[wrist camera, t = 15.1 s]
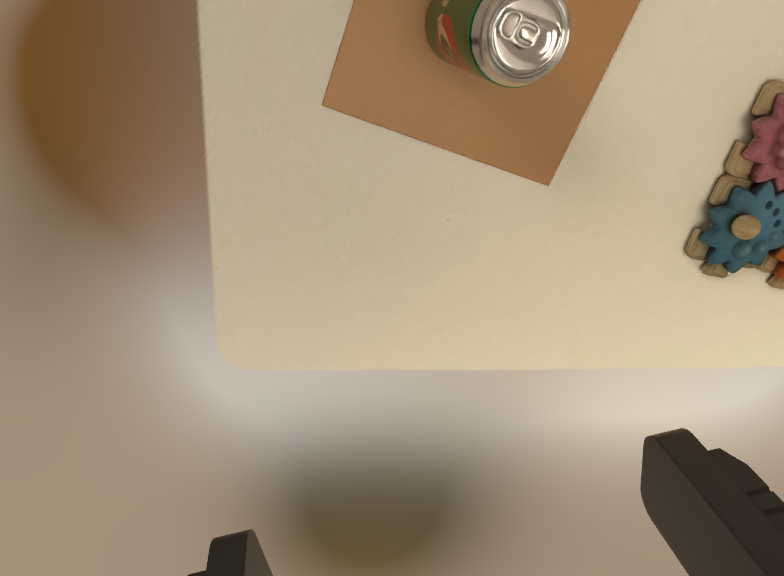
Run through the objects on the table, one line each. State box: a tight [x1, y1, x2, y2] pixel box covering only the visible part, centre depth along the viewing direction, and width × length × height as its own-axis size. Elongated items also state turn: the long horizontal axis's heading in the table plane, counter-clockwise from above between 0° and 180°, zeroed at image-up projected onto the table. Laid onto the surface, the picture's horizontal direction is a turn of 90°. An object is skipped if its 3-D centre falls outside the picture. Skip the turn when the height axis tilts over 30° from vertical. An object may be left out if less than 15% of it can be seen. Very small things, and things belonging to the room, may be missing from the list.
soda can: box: [425, 0, 571, 88], centre depth 32 cm, size 5×5×12 cm
